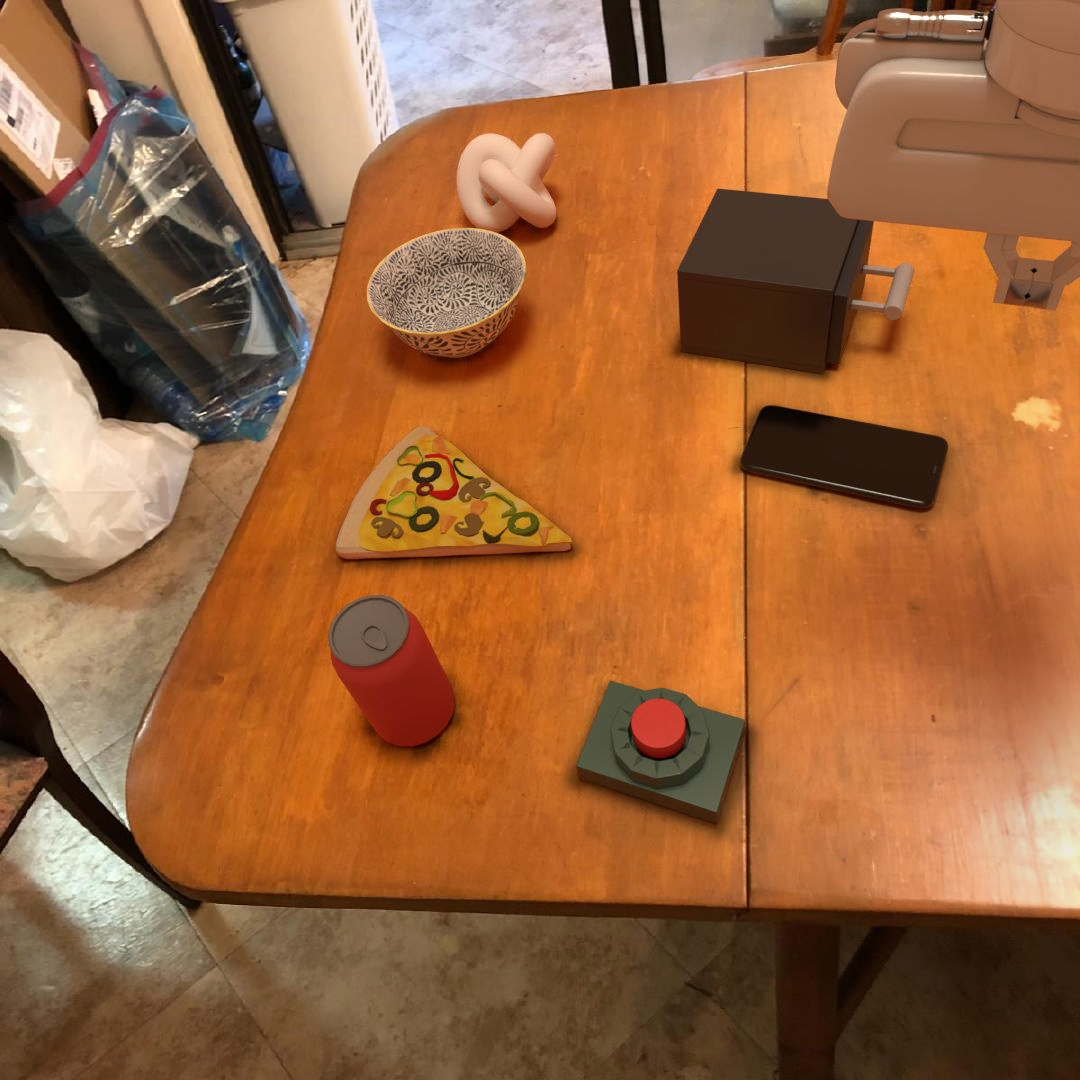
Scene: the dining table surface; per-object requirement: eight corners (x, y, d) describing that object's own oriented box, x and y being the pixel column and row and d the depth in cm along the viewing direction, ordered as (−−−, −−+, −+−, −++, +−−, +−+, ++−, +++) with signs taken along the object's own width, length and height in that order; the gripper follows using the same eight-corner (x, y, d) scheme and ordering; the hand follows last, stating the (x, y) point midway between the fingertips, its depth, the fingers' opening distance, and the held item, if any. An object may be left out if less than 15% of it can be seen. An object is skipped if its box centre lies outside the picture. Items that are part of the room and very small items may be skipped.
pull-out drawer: (911, 291, 90) (925, 220, 84) (889, 372, 84) (902, 303, 78) (738, 269, 96) (739, 202, 89) (705, 344, 90) (704, 277, 84)
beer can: (403, 767, 69) (352, 691, 60) (357, 708, 73) (302, 628, 63) (473, 711, 71) (435, 628, 62) (425, 656, 75) (381, 571, 65)
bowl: (569, 316, 97) (559, 255, 91) (467, 412, 91) (449, 353, 85) (457, 269, 104) (441, 210, 98) (356, 355, 98) (333, 298, 92)
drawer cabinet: (852, 287, 93) (863, 202, 85) (823, 374, 86) (832, 290, 79) (717, 270, 97) (717, 188, 90) (680, 351, 91) (676, 270, 83)
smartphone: (736, 472, 81) (931, 514, 75) (736, 465, 80) (933, 507, 74) (762, 408, 85) (949, 443, 79) (762, 401, 84) (951, 436, 78)
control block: (744, 733, 67) (746, 707, 64) (716, 824, 63) (716, 802, 60) (612, 694, 70) (607, 667, 67) (579, 778, 67) (572, 755, 63)
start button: (693, 718, 64) (692, 707, 63) (676, 765, 62) (675, 754, 61) (642, 703, 65) (641, 692, 64) (625, 749, 64) (623, 738, 62)
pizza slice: (412, 431, 90) (404, 409, 88) (609, 484, 82) (606, 461, 80) (325, 555, 82) (313, 535, 80) (533, 625, 75) (527, 605, 72)
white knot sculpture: (455, 252, 106) (436, 181, 99) (474, 189, 113) (458, 119, 106) (553, 248, 104) (540, 175, 97) (566, 184, 111) (556, 112, 104)
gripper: (825, 45, 38) (802, 311, 49) (1447, 70, 31) (1259, 374, 42) (857, -27, 42) (829, 238, 53) (1428, -18, 35) (1258, 285, 46)
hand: (1024, 299), depth 47 cm, fingers closed
